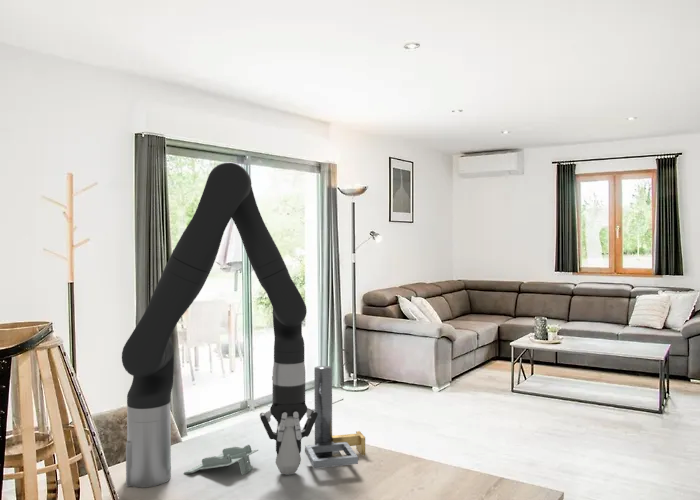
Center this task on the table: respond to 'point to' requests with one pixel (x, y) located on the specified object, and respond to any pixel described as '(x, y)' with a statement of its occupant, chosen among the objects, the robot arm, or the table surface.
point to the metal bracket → (228, 459)
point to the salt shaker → (288, 449)
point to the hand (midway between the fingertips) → (288, 455)
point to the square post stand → (330, 429)
